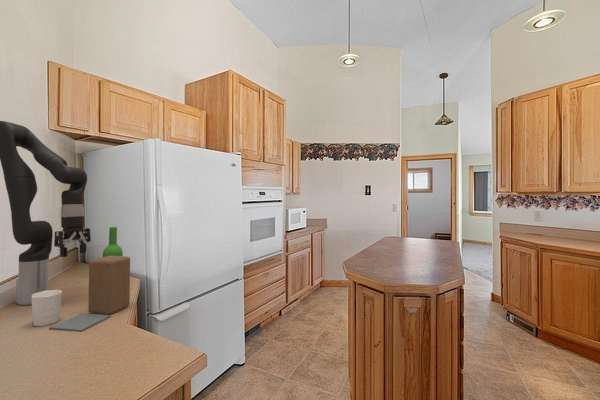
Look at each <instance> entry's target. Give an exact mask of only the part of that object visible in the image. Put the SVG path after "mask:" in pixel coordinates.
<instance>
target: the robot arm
mask: <svg viewBox="0 0 600 400" xmlns="http://www.w3.org/2000/svg"><path fill="white" fill-rule="evenodd" d="M17 147H20V148H22V149H24V150H27V151H28V152H30V153H31V154H32V156H33V158H34V160H35V162H37V163H38V164H39V165H40V166H42V168H44V169H46V170H47V171H49V173H50V174H51V176H52V177H53V178H54V179H55V180H56V181H57V182H60V183H61V184H63V185H70V186H69V187H68V189H67V190H66V189H65V190H63V191H62V192H61V209H60V218H61V219H60V224H61V225H60V227H61V228H62V230H58V231H57V230H56V231H54V232H53V227H52V225H51V224H50V222H48V221H46V220H32V217H31V212H30V211H31V210H30V209H31V205H32V203H33V201H34V199H35V198H36V195H37V194H38V193H37V192H38V185H37V180H36V176H35V173H34V172H33V170H32V169H31V167H30V166H29V165H28V164H27V163H26V162H25V160H24V159H23V158H22V157H21V155H20V153H19V151H18V149H17ZM0 166H1V168H2V173H3V178H4V180H3V181H4V184H5V187H6V188H5V189H6V191H7V192H6V193H7V195H8V202H9V206H10V207H9V208H10V213H11V214H10V215H11V228H12V235H13V238H14V240H15V242H16V243H18V244H20V245H22V246H23V245H24V246H25V245H30V247H28V249H26V250H25V251H23V252H22V253H19V255H18V278H17V279H16V283H15V284H16V287H15V288H16V289H15V290H16V291H15V304H18V305H20V306H29V305H32V297H31V296H32V295H33V294H35V293H38V292H43V291H49V288H50V287H49V284H50V283H49V280H50V279H49V277H50V274H49V271H50V269H49V268H50V254H51V252H52V249H53V248H52V247H53V246H52V245H54V247H57V248H59V255H60V257H61V258H68V246H69V244H70V243H71V242H72V241H77V242H78V243H79V253H80V254H86V253H87V244H88V243H90V242H91V240H92V239H91V229H90V228H89V227H85V225H86V224H85V207H84V193H85V190H86V185H87V182H88V175H87V173H86V171H85V170H84V169H83V168H81V167H80V168H79V167H74V166H73V167H72V166H69V165H68V163H67V161H66V160H65V158H63V157H62V156H60V155H59V154H57V153H56V152H54V150H51V148H50V147H48V146H47V145H45V144H44V143H43V142H42V141H41V140H40V138H38V137H37V136H36V135H35V133H34V132H32V131H31V130H30V129H29V128H27V127H26V126H23V125H22V124H17V123H13V122H11V121H5V120H0ZM53 236H54V241H53ZM53 242H54V244H53Z"/></svg>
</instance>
